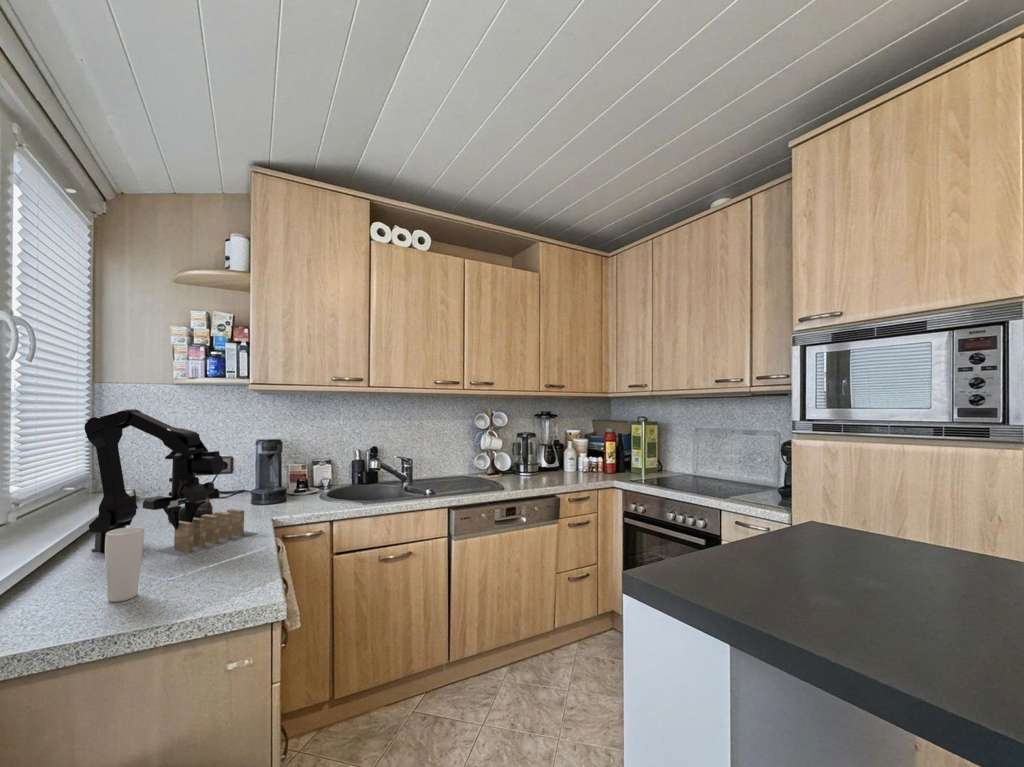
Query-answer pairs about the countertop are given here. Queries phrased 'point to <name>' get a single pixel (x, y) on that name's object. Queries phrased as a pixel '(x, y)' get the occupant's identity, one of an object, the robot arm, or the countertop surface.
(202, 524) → the domino
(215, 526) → the domino
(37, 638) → the countertop surface
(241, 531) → the domino
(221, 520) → the wooden block
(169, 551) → the slate mat
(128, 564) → the beige tall tapered piece
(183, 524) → the domino
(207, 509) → the lucky cat figurine
